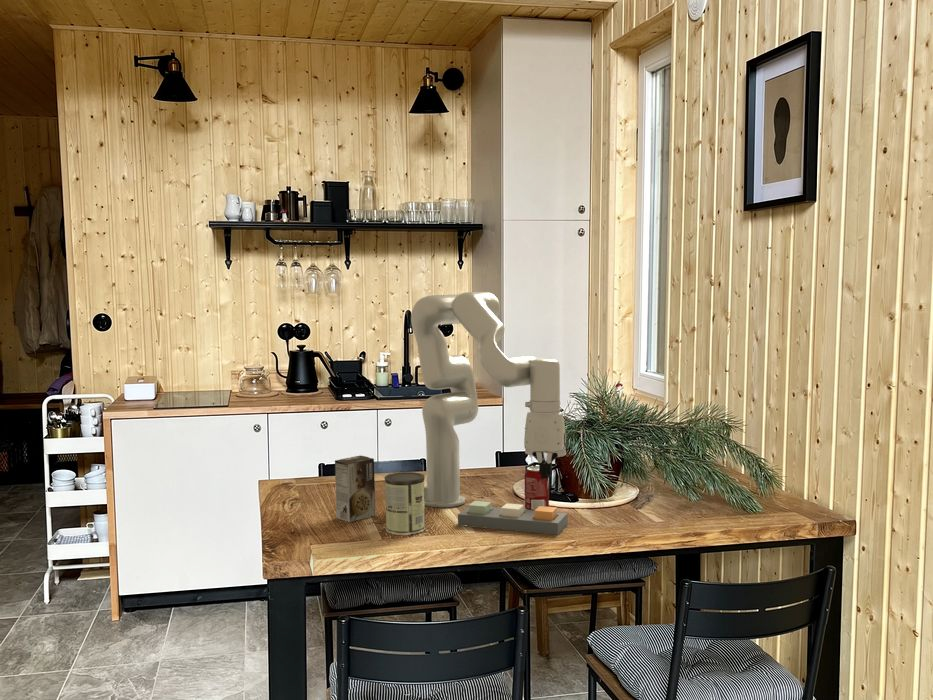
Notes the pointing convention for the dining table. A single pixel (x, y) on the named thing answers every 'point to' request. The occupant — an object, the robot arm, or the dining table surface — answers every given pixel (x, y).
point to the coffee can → (405, 503)
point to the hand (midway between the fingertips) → (545, 477)
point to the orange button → (545, 513)
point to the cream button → (512, 510)
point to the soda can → (535, 489)
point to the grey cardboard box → (355, 488)
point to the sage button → (480, 507)
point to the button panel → (513, 521)
